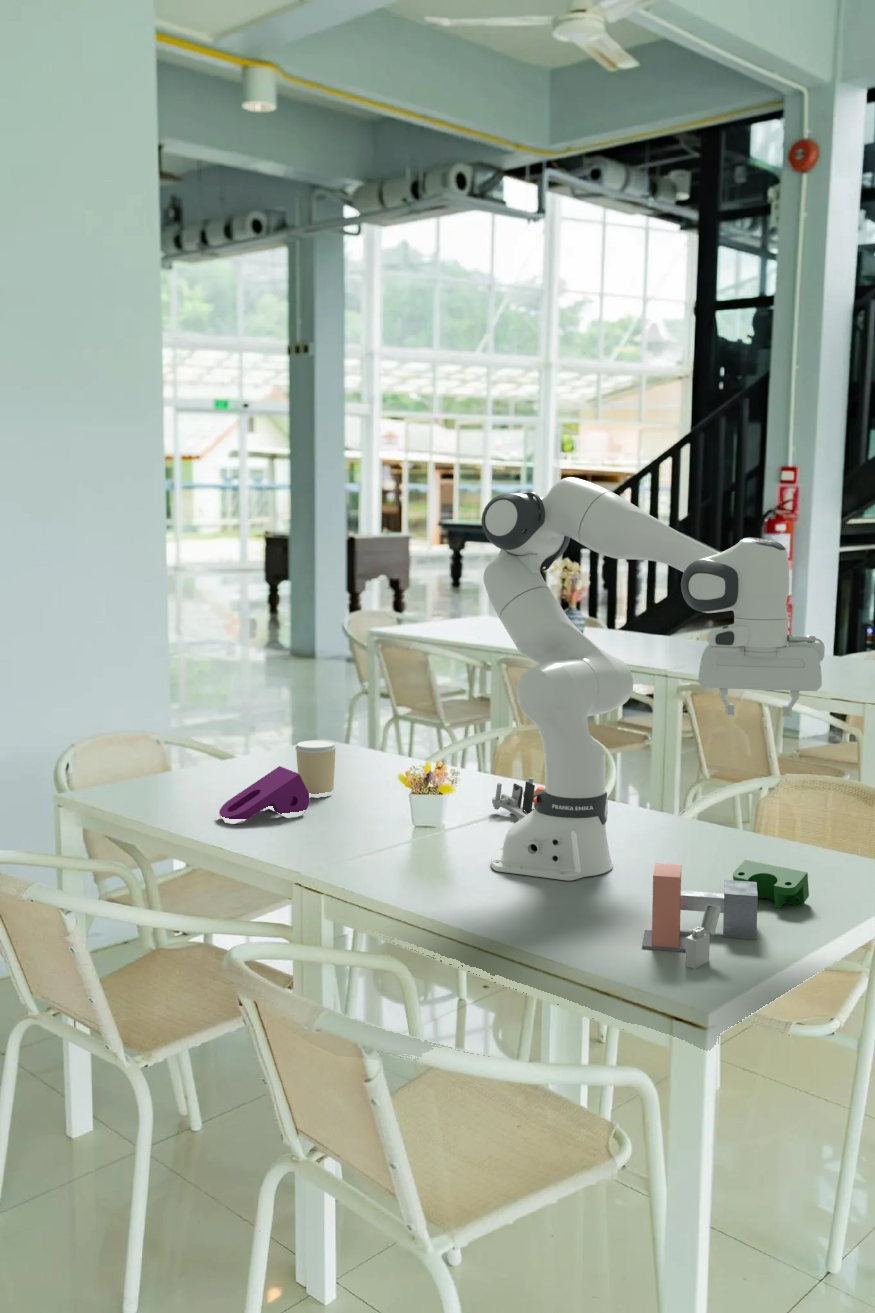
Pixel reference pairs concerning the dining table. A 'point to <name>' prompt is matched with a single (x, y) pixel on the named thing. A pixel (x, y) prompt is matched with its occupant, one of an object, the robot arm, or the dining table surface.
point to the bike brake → (516, 799)
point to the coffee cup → (316, 765)
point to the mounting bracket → (269, 796)
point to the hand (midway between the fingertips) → (758, 715)
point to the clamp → (775, 882)
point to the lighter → (701, 938)
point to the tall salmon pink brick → (666, 905)
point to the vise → (729, 907)
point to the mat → (648, 945)
